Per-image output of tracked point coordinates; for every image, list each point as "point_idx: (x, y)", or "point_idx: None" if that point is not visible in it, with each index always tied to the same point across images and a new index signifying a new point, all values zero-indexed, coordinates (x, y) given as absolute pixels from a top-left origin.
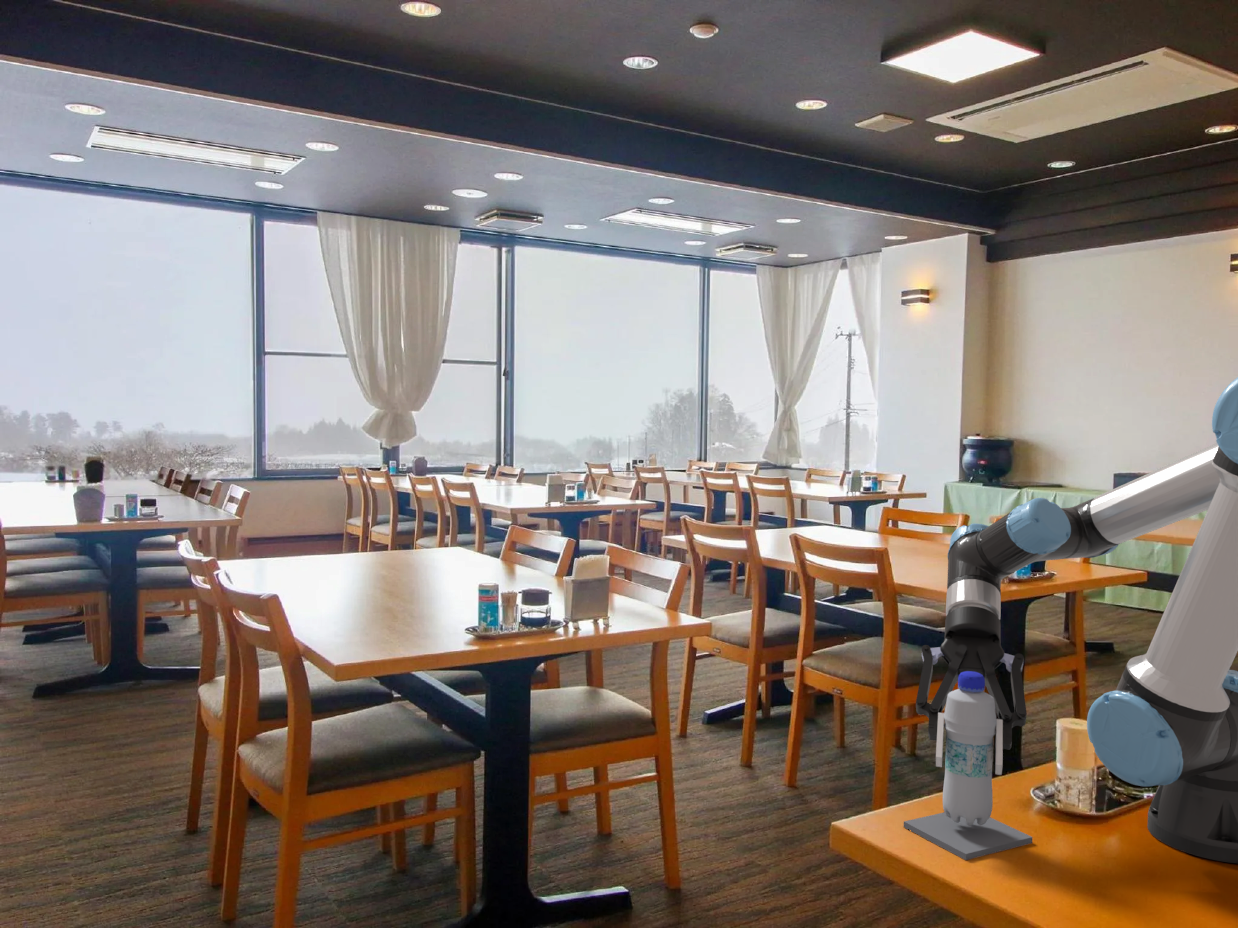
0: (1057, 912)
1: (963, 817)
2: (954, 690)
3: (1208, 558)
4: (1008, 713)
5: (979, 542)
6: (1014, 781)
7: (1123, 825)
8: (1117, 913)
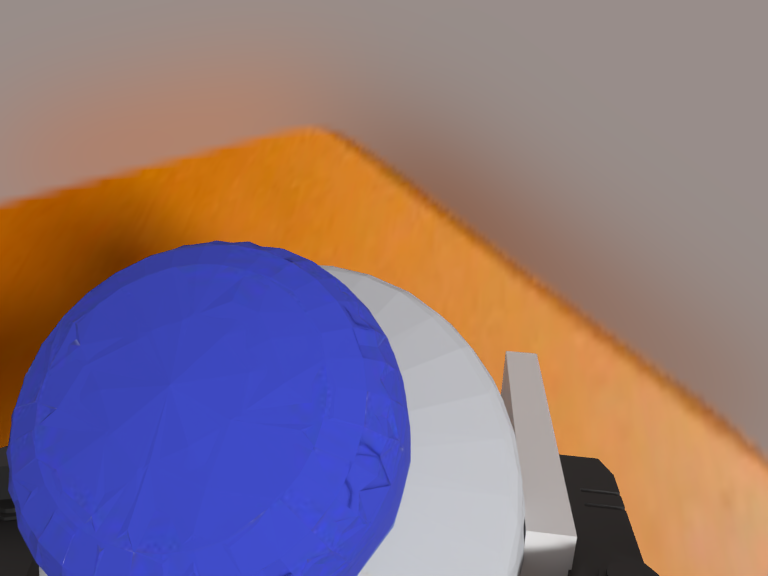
0: (243, 160)
1: None
2: (445, 542)
3: None
4: (2, 463)
5: None
6: None
7: None
8: (118, 189)
